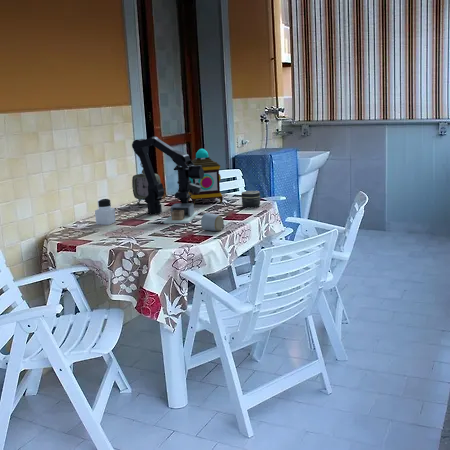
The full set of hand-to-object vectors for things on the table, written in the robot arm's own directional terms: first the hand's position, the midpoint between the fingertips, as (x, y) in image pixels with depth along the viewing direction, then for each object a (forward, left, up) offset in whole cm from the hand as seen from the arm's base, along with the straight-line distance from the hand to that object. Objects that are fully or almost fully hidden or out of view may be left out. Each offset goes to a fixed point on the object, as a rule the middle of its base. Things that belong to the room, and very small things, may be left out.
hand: (185, 209), depth 309 cm
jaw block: (0, -16, -2) cm, 16 cm away
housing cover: (0, -7, -2) cm, 7 cm away
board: (0, -10, -3) cm, 10 cm away
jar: (+31, +20, -3) cm, 37 cm away
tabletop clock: (-29, +30, -3) cm, 42 cm away
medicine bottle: (-36, -19, -3) cm, 41 cm away
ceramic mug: (+21, -35, -3) cm, 41 cm away
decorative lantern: (+2, +37, -3) cm, 37 cm away
